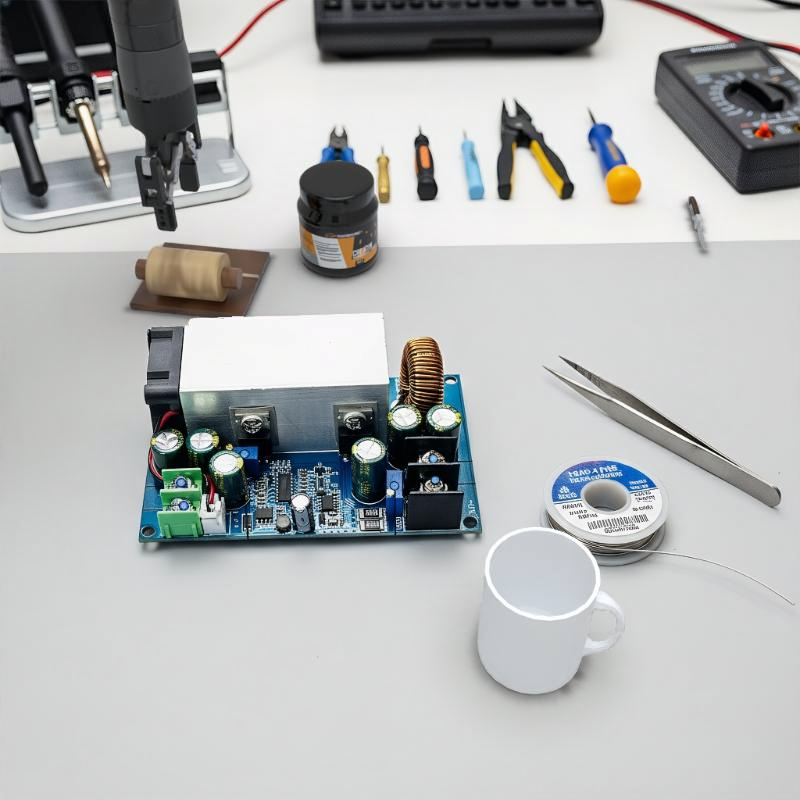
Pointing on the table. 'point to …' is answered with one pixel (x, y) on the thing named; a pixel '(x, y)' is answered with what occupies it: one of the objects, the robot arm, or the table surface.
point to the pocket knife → (696, 218)
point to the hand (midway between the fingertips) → (179, 209)
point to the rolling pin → (188, 273)
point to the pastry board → (231, 306)
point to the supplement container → (338, 218)
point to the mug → (540, 610)
